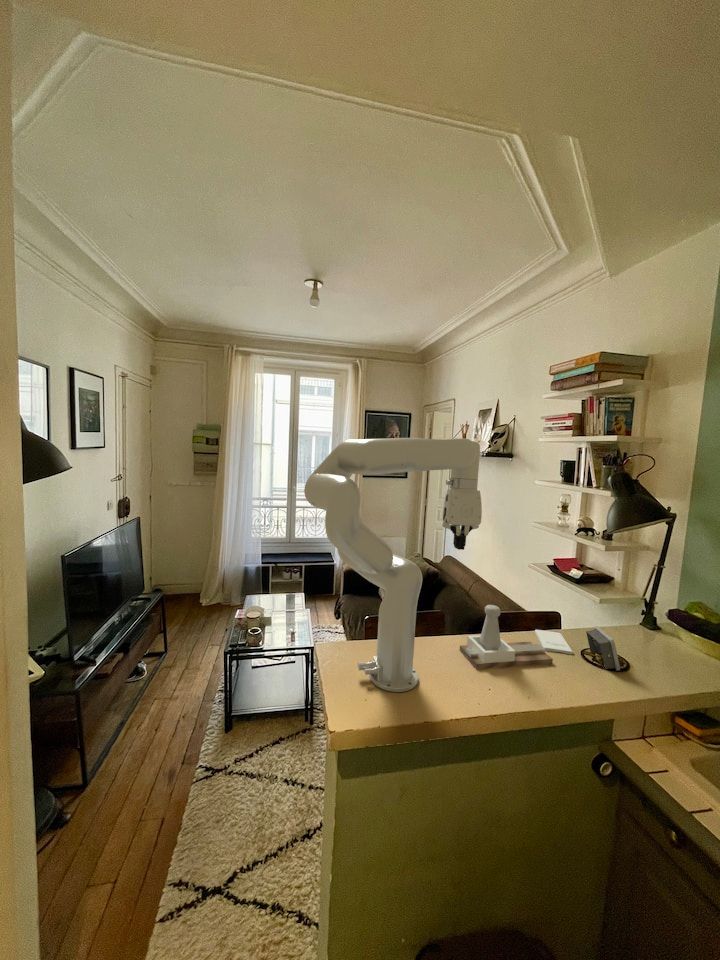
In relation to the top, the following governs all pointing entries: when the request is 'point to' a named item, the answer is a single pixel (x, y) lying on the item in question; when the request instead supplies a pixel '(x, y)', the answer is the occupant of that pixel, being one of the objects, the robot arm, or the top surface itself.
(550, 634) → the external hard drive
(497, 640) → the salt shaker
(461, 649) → the rail board
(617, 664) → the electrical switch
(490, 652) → the white square tray
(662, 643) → the top surface
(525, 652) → the rail
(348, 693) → the top surface
